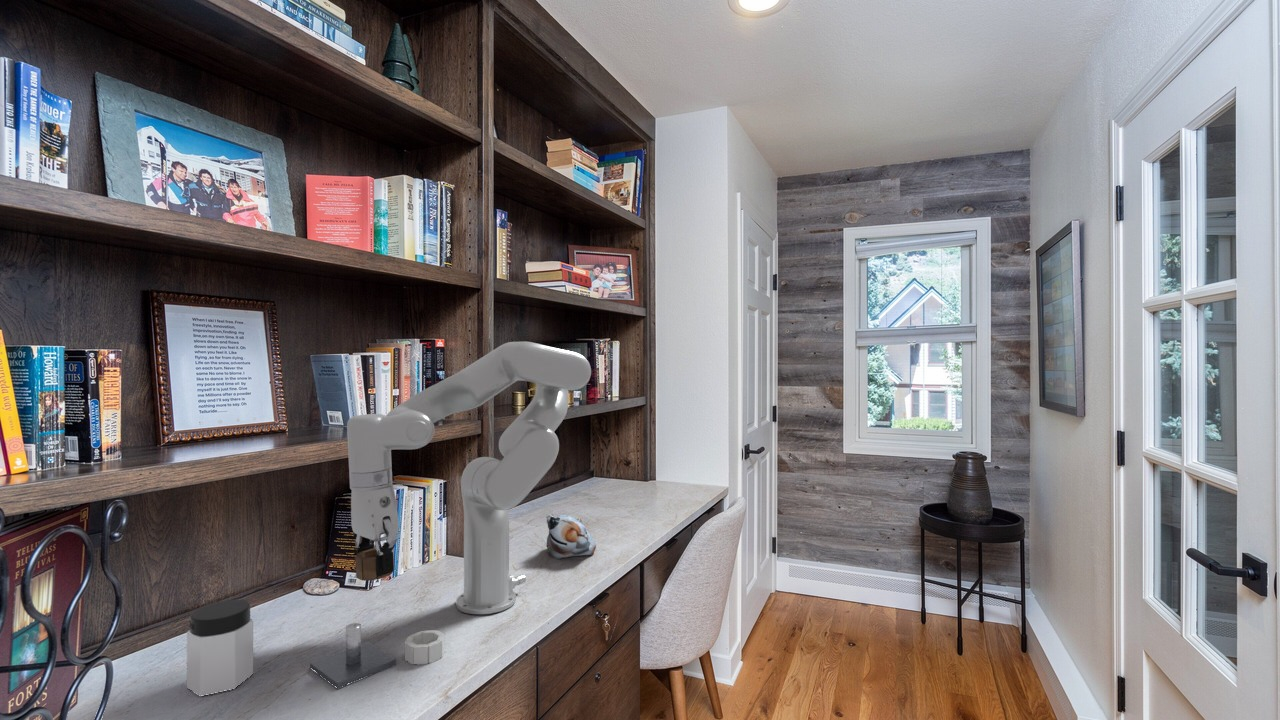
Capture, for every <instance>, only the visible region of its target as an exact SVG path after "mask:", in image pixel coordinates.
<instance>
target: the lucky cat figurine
mask: <svg viewBox="0 0 1280 720" xmlns="http://www.w3.org/2000/svg"><path fill="white" fill-rule="evenodd" d="M546 523H547V524H546V525H547V528H548V536H547V538H546V547H547V553H548V555H549V556H552V557H553V558H555V559H557V560H559V559H560V560H561V559H563V558H568V557H577V556H593V555H594V554H595V552H596V551H595V550H596V549H597V544H596V542H595V540H594V539H593V537H591V535H590V533H589V532H588V530H587V528H586V526H585V525H584V524H583V521H582V519H581V518H575V517H574V516H572V515H569V514H560V515H558V516H557V517H555V516H554V514H553V513H549V514H548V515H546Z"/></svg>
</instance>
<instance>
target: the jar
mask: <svg viewBox="0 0 1280 720" xmlns="http://www.w3.org/2000/svg"><path fill="white" fill-rule="evenodd" d="M252 674H253V675H254V619H252V618H251V604H250V602H249V601H247V600H244V599H243V600H242V599H229V600H221V601H217V602H213V603H209V604H207V605H206V604H205V605H204V606H201V607H199V608H197V609H195V610H194V611H193V612H192V613H191V614H190V616H189V629H188V630H187V631H186V689H187V688H188V689H190V690H192V691H193V692H195V693H197V694H198V695H200V696H201V695H206V694H211V693H215V692H220V691H224V690H229V689H233V688H236V687H237V686H238V685H239V684H241V683H242V682H243V681H244V682H246V681H247V680H248V679H249V678H251V677H252V676H253V675H252ZM251 675H252V676H251ZM250 676H251V677H250ZM247 678H248V679H247ZM246 679H247V680H246ZM245 680H246V681H245ZM244 682H243V683H244ZM243 683H242V684H243ZM242 684H241V685H242ZM238 687H239V686H238ZM238 687H237V688H238ZM237 688H236V689H237ZM188 689H187V690H188ZM190 690H189V691H190ZM192 691H191V692H192ZM193 692H192V693H193ZM195 693H194V694H195ZM197 694H196V695H197ZM198 695H197V696H198ZM200 696H199V697H200Z"/></svg>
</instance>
